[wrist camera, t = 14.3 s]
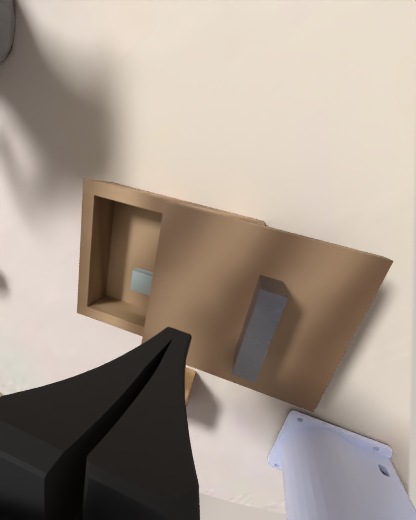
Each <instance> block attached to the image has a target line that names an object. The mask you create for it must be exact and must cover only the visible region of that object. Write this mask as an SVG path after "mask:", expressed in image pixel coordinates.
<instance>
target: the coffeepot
mask: <svg viewBox="0 0 416 520" xmlns="http://www.w3.org/2000/svg"><path fill="white" fill-rule="evenodd" d="M14 30H15V11H14V3H13V0H0V65H1V63H2V62H3V61H4V60H5V59H6V57H7V55H8V53H9V51H10V49H11V45H12V42H13V38H14Z"/></svg>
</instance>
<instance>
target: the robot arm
mask: <svg viewBox="0 0 416 520" xmlns="http://www.w3.org/2000/svg"><path fill="white" fill-rule="evenodd" d="M191 339H192V336H191V334H188V333H186V332H183V331H180V330H177V329H174V328H171V327H166V328H165V329H164V330H162V331H161V332H159V333H158V334H156V335H155V336H154V337H152V338H151V339H149V340H148V341H146V342H144V343H143V344H141V345H140V346H138V347H136V348H135V349H133V350H131V351H129V352H127V353H126V354H124V355H122V356H120V357H118V358H116V359H114V360H112V361H110V362H108V363H106V364H104V365H102V366H99V367H97V368H95V369H92V370H90V371H87V372H85V373H82V374H79V375H77V376H74V377H71V378H68V379H65V380H62V381H59V382H55V383H52V384H49V385H45V386H42V387H38V388H34V389H30V390H26V391H21V392H17V393H13V394H9V395H4V396H1V397H0V520H200V508H199V507H200V506H199V484H198V479H197V475H196V470H195V465H194V460H193V455H192V450H191V444H190V438H189V430H188V422H187V414H186V402H185V366H186V358H187V354H188V350H189V347H190V343H191ZM392 455H393V451H392V449H391V448H390V446H388V445H385V444H383V443H380V442H377V441H375V440H372V439H369V438H367V437H364V436H361V435H359V434H356V433H353V432H351V431H348V430H345V429H343V428H340V427H337V426H335V425H332V424H329V423H327V422H324V421H321V420H319V419H316V418H313V417H310V416H308V415H305V414H302V413H300V412H297V411H290V412H289V414H288V416H287V418H286V421H285V423H284V425H283V427H282V429H281V431H280V433H279V435H278V437H277V439H276V441H275V444H274V446H273V448H272V450H271V452H270V454H269V456H268V459H267V461H268V464H269V465H270V466H272V467H275V468H277V469H279V470H282V474H283V485H284V496H285V507H286V517H287V520H416V510H415V508H414V506H413V504H412V502H411V500H410V498H409V496H408V494H407V492H406V490H405V488H404V486H403V484H402V482H401V481H400V479H399V477H398V475H397V473H396V471H395V469H394V467H393V465H392V463H391V461H390V457H391V456H392Z"/></svg>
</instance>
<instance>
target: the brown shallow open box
mask: <svg viewBox="0 0 416 520" xmlns="http://www.w3.org/2000/svg"><path fill="white" fill-rule="evenodd" d="M165 202H174V203H178V204H182V205H186V206H190V207H194V208H197V209H201V210H205V211H209V212H213V213H217V214H221V215H224V216H228V217H232V218H236V219H240V220H244V221H248V222H251V223H255V224H259V225H263V226H265V224H264V221H261V220H257V219H253V218H249V217H245V216H241V215H237V214H234V213H230V212H226V211H222V210H218V209H214V208H210V207H206V206H202V205H198V204H195V203H191V202H187V201H183V200H179V199H175V198H171V197H167V196H163V195H159V194H155V193H152V192H148V191H144V190H140V189H136V188H132V187H128V186H124V185H120V184H116V183H112V182H105V181H98V180H90V179H83V200H82V221H81V242H80V262H79V283H78V304H77V313H79V314H82V315H85V316H88V317H90V318H93V319H96V320H99V321H101V322H104V323H107V324H110V325H112V326H115V327H118V328H121V329H124V330H126V331H129V332H132V333H135V334H137V335H140V336H143V332H144V326H145V320H146V314H147V308H148V302H149V296H150V290H151V283H152V277H153V271H154V265H155V259H156V253H157V247H158V241H159V235H160V228H161V222H162V216H163V210H164V204H165Z"/></svg>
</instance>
